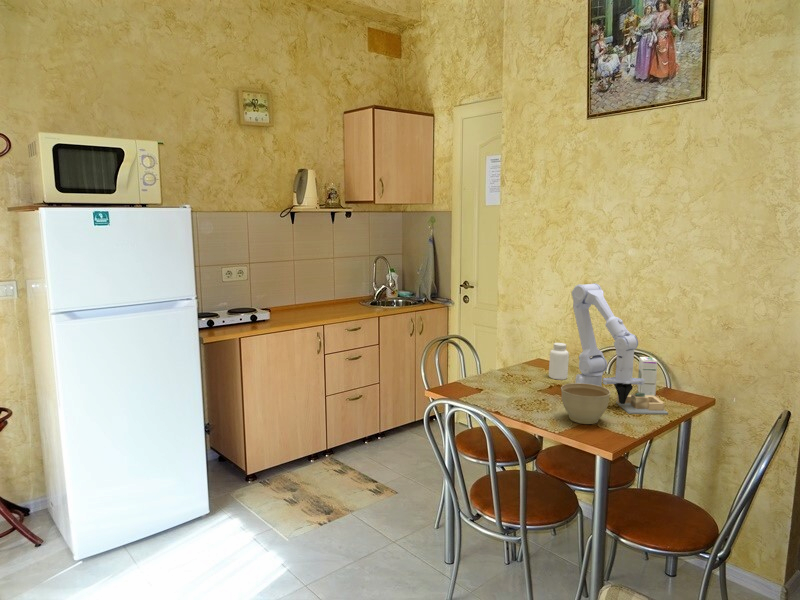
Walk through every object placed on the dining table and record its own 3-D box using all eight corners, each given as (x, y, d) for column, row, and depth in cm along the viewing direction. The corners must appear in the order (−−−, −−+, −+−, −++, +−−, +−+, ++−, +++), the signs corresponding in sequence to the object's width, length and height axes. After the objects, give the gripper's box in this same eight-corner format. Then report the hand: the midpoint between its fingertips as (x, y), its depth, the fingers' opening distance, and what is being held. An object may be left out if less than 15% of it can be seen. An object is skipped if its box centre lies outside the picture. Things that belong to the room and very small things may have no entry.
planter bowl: (615, 419, 193) (617, 389, 192) (596, 432, 181) (598, 400, 180) (571, 408, 204) (573, 379, 202) (551, 420, 192) (552, 389, 190)
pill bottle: (567, 380, 239) (569, 346, 237) (548, 379, 241) (549, 345, 239) (567, 375, 247) (569, 342, 244) (548, 374, 249) (550, 341, 247)
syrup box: (655, 396, 219) (658, 360, 216) (639, 395, 220) (642, 359, 218) (652, 392, 224) (654, 357, 222) (636, 391, 225) (639, 356, 223)
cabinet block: (635, 408, 203) (636, 395, 202) (630, 404, 207) (631, 391, 206) (647, 408, 203) (648, 395, 202) (642, 404, 207) (643, 391, 206)
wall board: (628, 413, 199) (629, 405, 198) (616, 402, 211) (616, 394, 210) (668, 414, 199) (668, 406, 198) (653, 403, 211) (654, 395, 210)
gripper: (608, 370, 200) (606, 406, 202) (649, 370, 200) (646, 407, 202) (601, 364, 207) (599, 400, 209) (640, 365, 207) (638, 400, 209)
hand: (621, 403), depth 206 cm, fingers closed
